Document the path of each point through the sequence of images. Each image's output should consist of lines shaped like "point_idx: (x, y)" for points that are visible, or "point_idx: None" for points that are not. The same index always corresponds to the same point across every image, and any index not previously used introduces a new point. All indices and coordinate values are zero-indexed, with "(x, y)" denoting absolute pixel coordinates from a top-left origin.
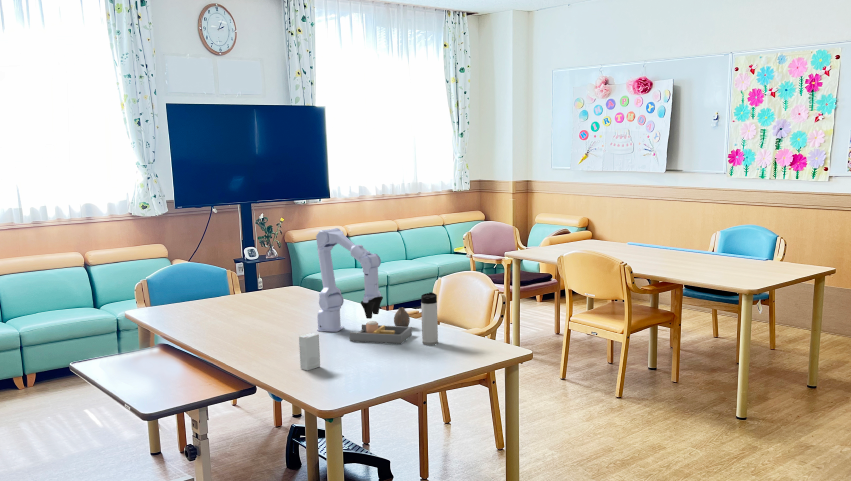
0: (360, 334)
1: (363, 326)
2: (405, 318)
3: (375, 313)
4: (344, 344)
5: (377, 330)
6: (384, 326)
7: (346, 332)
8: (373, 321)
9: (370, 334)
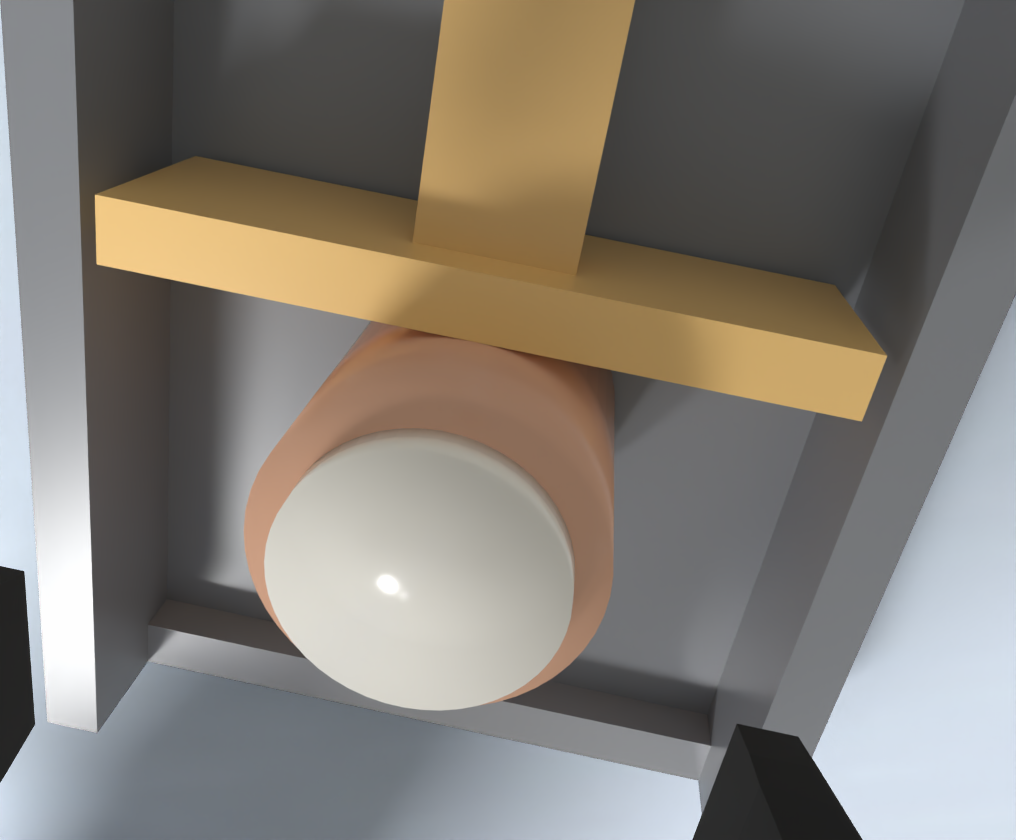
0: (835, 670)
1: (110, 679)
2: None
3: (11, 670)
4: (945, 794)
5: (700, 324)
6: (140, 196)
7: (183, 831)
8: (303, 563)
9: (936, 458)
